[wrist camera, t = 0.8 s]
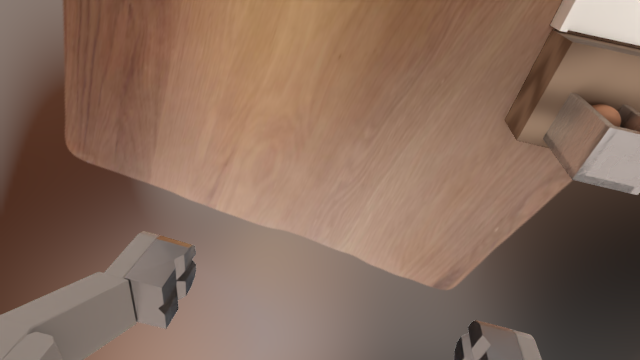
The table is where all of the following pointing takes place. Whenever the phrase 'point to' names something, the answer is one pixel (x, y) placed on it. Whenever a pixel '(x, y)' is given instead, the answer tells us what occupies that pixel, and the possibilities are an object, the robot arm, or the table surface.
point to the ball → (609, 113)
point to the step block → (573, 82)
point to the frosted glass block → (597, 145)
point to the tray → (601, 19)
